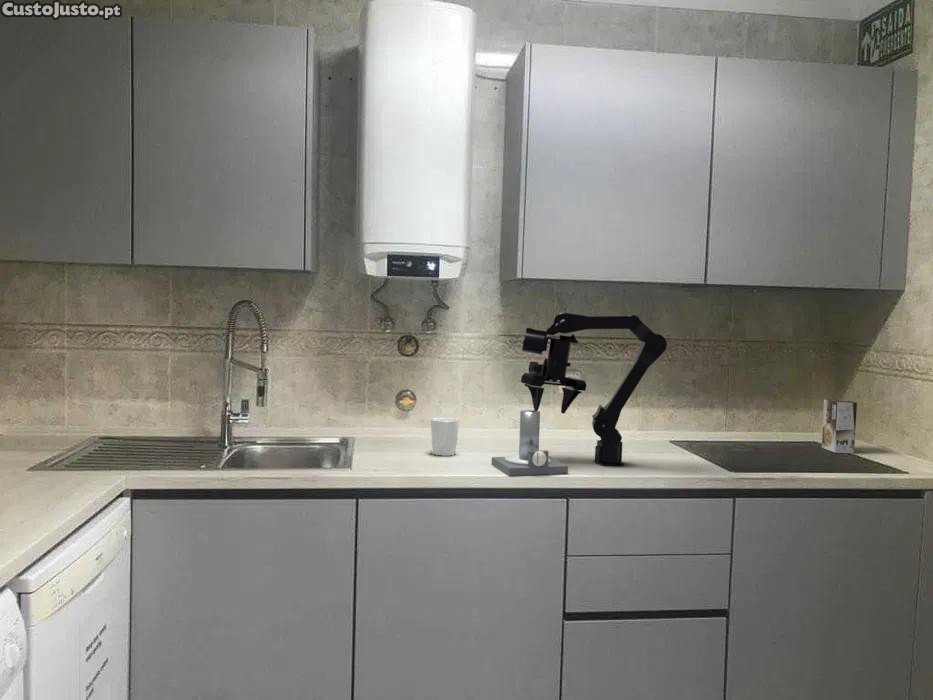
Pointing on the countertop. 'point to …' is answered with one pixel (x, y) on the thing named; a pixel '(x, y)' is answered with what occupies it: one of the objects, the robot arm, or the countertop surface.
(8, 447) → the countertop surface
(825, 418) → the coffee box
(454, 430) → the white cup
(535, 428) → the metal canister
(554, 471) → the scale
